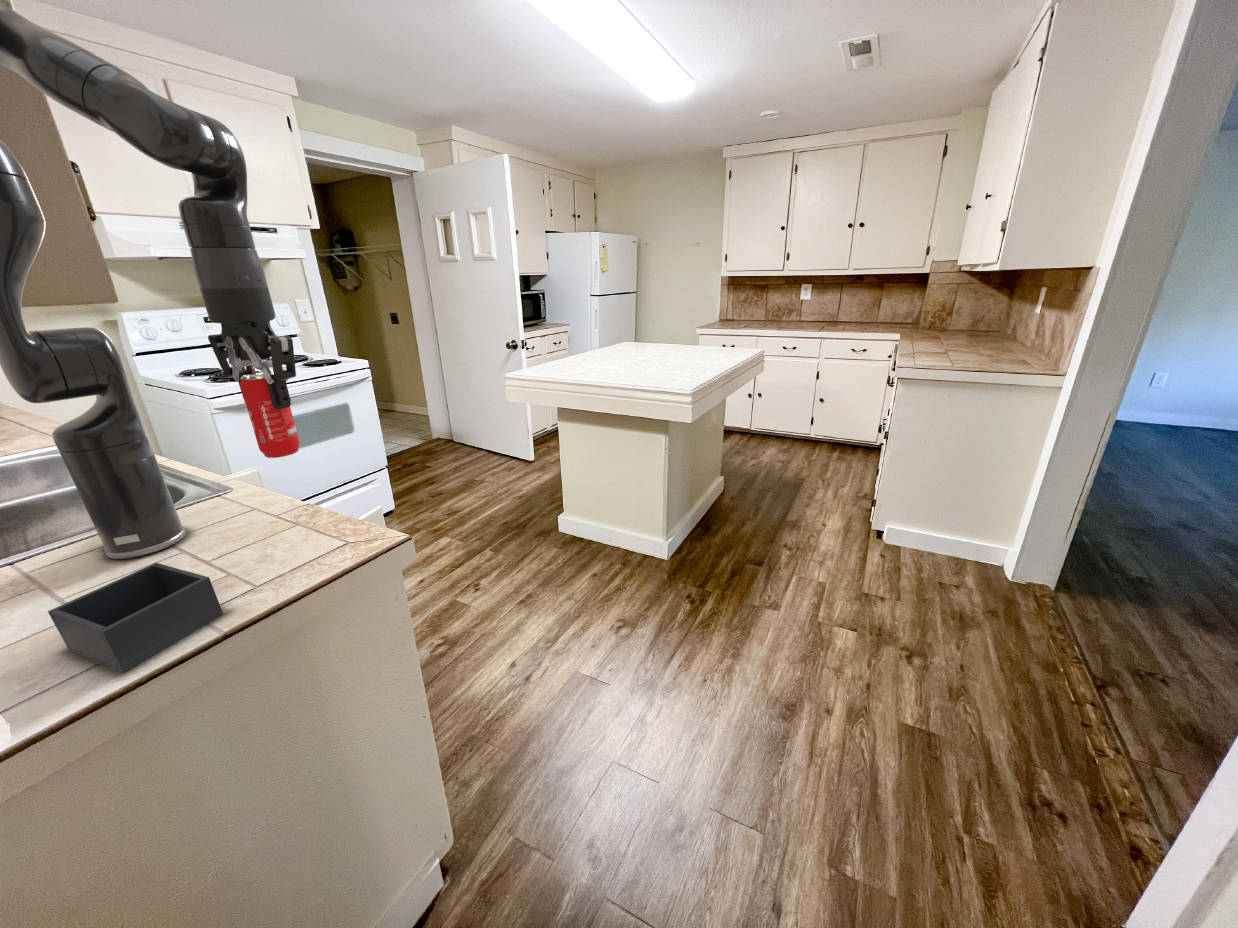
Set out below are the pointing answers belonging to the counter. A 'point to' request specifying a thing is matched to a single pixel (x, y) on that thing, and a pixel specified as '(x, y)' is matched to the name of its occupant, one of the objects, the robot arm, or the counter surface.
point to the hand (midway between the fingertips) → (268, 405)
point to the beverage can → (269, 419)
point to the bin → (136, 615)
